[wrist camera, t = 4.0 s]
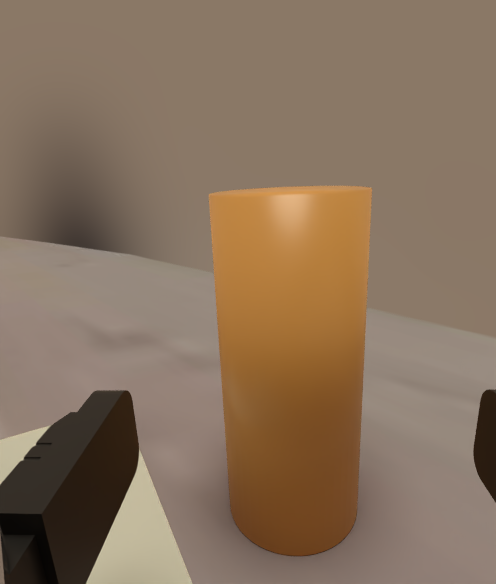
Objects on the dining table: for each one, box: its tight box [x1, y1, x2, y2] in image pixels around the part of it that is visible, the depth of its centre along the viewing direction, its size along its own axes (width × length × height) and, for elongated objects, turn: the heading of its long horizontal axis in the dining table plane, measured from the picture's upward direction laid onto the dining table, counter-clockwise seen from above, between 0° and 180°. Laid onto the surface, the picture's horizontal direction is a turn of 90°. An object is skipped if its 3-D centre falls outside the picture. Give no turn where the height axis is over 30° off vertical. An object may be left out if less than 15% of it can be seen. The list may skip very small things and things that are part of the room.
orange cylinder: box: [209, 186, 372, 556], centre depth 14 cm, size 5×5×12 cm
